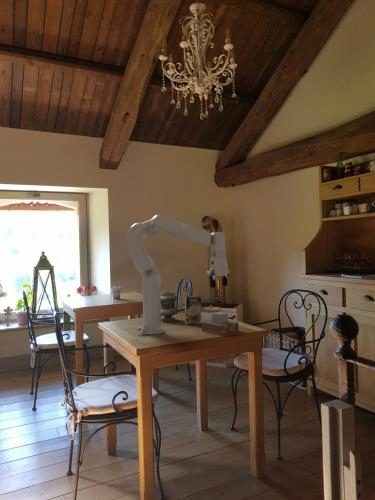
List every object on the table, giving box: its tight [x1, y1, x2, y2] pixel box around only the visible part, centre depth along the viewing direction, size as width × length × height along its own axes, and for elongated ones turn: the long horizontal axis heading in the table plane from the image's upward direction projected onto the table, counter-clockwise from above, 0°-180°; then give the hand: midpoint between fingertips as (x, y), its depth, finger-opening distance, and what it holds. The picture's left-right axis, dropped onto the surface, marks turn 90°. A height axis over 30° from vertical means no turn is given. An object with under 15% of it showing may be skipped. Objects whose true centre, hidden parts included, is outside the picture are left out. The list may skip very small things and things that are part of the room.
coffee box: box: [184, 295, 202, 325], centre depth 230 cm, size 9×6×16 cm
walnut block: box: [201, 320, 240, 336], centre depth 209 cm, size 14×14×5 cm
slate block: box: [212, 311, 229, 324], centre depth 209 cm, size 6×6×5 cm
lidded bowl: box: [200, 304, 222, 323], centre depth 227 cm, size 13×13×11 cm
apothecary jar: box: [160, 290, 178, 322], centre depth 242 cm, size 12×12×18 cm
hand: (218, 286), depth 208 cm, fingers open, 9 cm apart
